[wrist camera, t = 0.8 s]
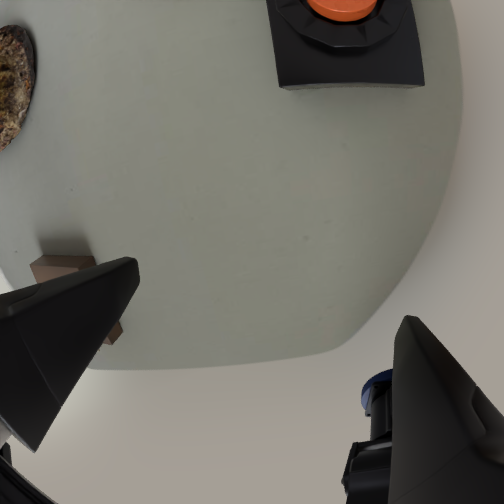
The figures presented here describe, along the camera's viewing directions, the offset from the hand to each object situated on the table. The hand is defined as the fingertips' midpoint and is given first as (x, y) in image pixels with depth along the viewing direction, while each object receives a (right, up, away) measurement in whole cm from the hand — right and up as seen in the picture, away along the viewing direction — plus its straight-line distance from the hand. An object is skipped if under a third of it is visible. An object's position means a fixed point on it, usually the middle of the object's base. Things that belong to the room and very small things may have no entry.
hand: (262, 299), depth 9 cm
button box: (+5, +16, +5) cm, 18 cm away
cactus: (-30, +21, +13) cm, 39 cm away
